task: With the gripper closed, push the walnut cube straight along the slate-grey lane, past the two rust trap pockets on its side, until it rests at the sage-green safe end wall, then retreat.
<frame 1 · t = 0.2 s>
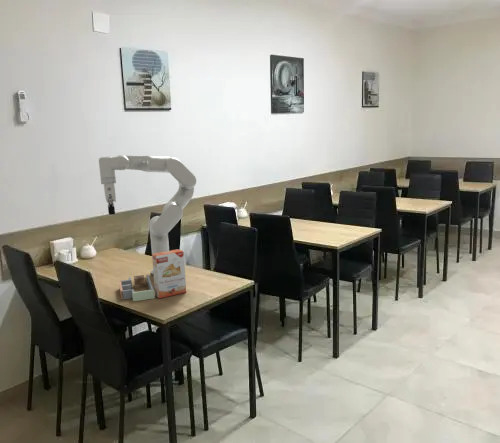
hand: (111, 212, 256), 36 cm above the table, tool pointing down, fingers open, 9 cm apart
walnut block: (140, 286, 247), on the table
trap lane: (141, 290, 240), on the table
cracker box: (171, 294, 232), on the table
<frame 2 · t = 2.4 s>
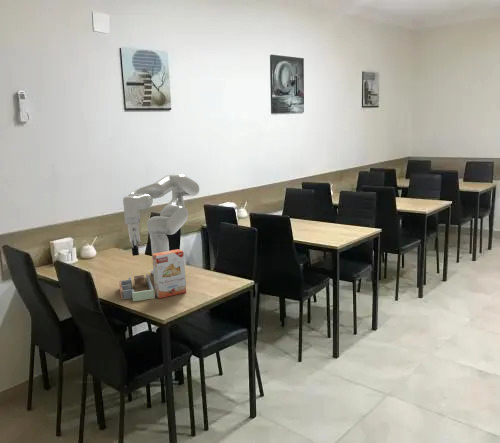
hand: (135, 255, 251), 15 cm above the table, tool pointing down, fingers closed
nothing on the table moved.
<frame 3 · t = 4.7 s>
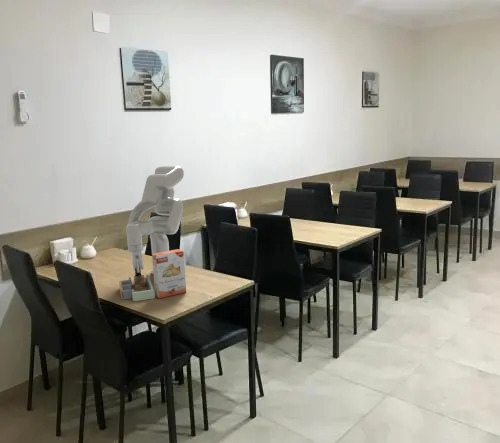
hand: (138, 281, 251), 1 cm above the table, tool pointing down, fingers closed
walnut block: (140, 286, 247), on the table, touching gripper
everything else where it was.
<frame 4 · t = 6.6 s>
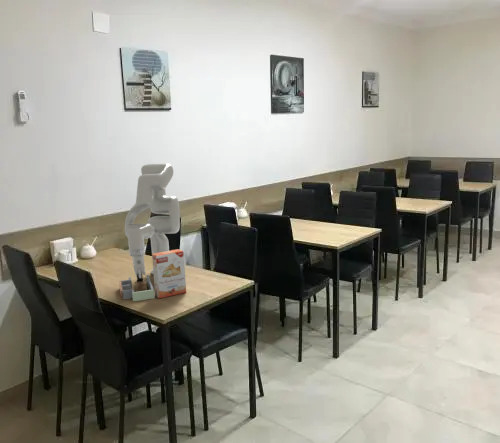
hand: (140, 287, 242), 1 cm above the table, tool pointing down, fingers closed
walnut block: (141, 292, 237), on the table, touching gripper
everything else where it was.
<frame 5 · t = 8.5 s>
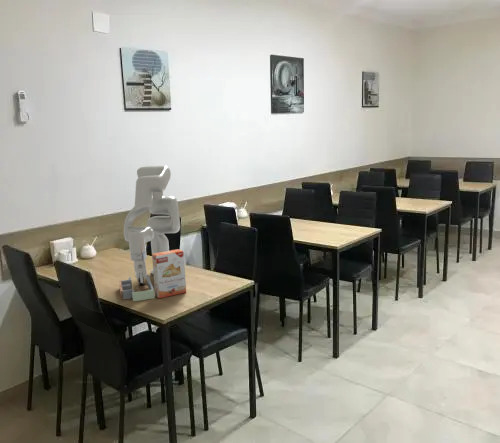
hand: (142, 292, 234), 1 cm above the table, tool pointing down, fingers closed
walnut block: (143, 297, 230), on the table, touching gripper, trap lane
everything else where it was.
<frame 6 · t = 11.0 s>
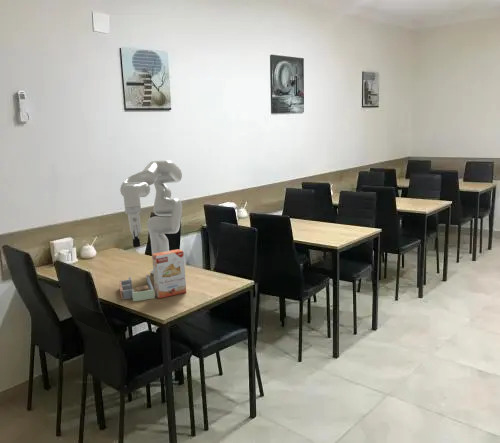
hand: (136, 246, 238), 22 cm above the table, tool pointing down, fingers closed
walnut block: (143, 297, 230), on the table
everything else where it was.
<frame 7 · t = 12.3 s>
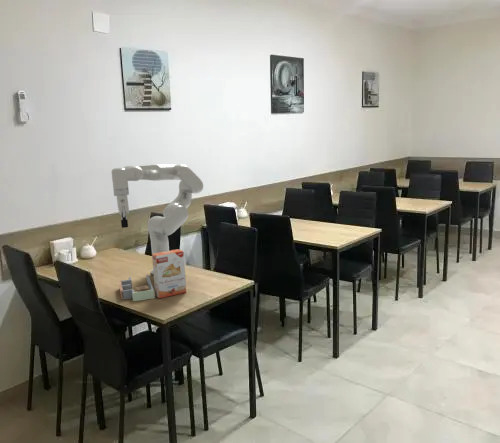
hand: (124, 227, 252), 29 cm above the table, tool pointing down, fingers closed
nothing on the table moved.
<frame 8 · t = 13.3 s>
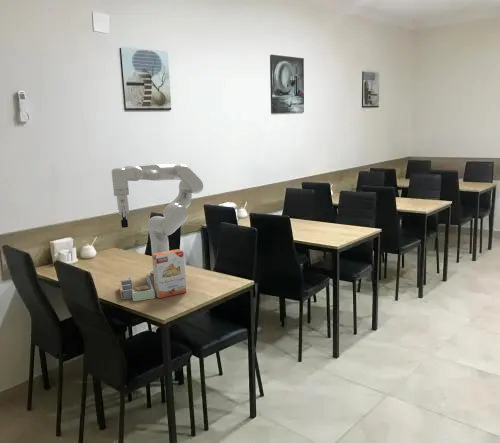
hand: (124, 227, 252), 29 cm above the table, tool pointing down, fingers closed
nothing on the table moved.
at the end: walnut block inside the target area (1.5 cm from its centre), on the table; walnut block tilted 0° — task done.
